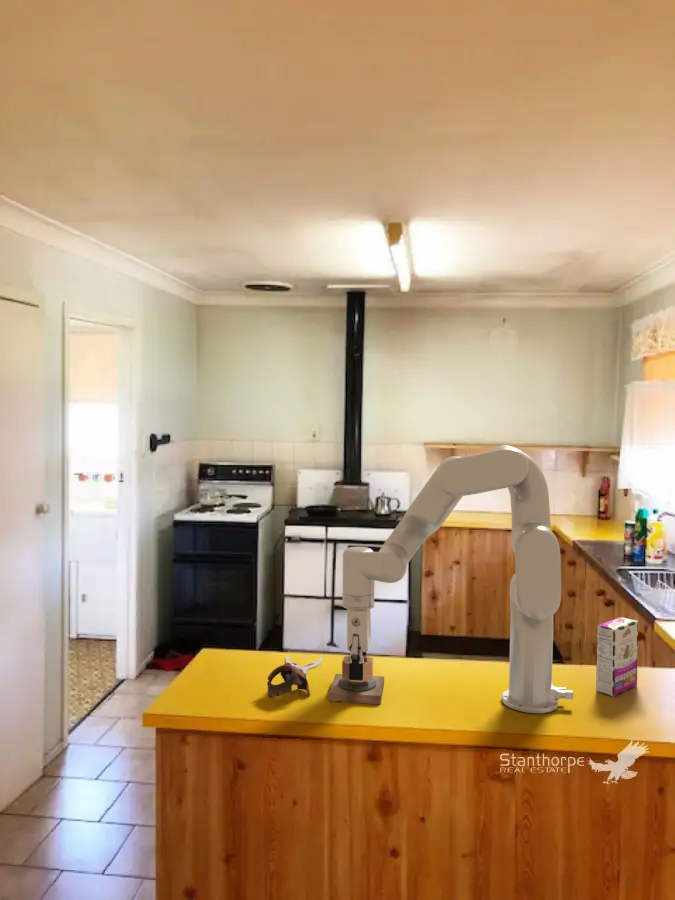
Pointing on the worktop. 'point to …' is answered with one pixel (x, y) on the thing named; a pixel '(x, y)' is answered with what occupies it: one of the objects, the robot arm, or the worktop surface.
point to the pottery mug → (287, 680)
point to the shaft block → (357, 690)
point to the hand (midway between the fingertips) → (357, 673)
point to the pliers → (304, 669)
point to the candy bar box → (617, 656)
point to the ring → (366, 668)
